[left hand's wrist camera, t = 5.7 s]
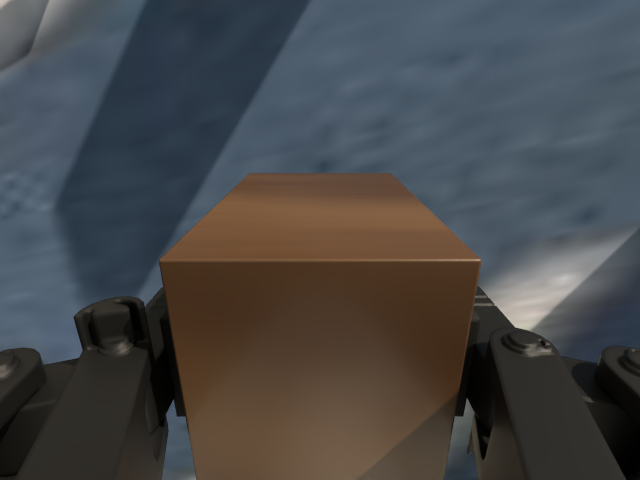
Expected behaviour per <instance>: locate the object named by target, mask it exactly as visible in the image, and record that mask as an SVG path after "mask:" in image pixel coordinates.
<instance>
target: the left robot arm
mask: <svg viewBox="0 0 640 480" xmlns="http://www.w3.org/2000/svg"><path fill="white" fill-rule="evenodd" d="M74 321H75V324H76V328H77V331H78V335H79V338H80V342H81V345H82V349H83V351H82V353H81V355H80V357H79V358H76V359H72V360H67V361H62V362H57V363H51V364H46V365H43V362H42V359H41V356H40V353H39V352H37V351H36V350H35V349H31V348H16V349H8V350H3V351H2V352H0V480H162V474H163V467H164V459H165V452H166V445H167V437H168V422H167V417H166V413H167V411H168V409H169V407H170V405H171V403H172V401H173V399H174V403H175V408H176V414H177V416H186V415H185V409H184V404H183V398H182V392H181V386H180V380H179V375H178V369H177V363H176V357H175V351H174V346H173V340H172V334H171V328H170V322H169V317H168V311H167V305H166V299H165V293H164V288H163V287H162V288H161V289H160V290H159V291H158V292H157V294H156V295H155V296H154V297H153V299H151V300H150V302H149V303H148V304H147V305H146V307H145V306H144V302H143V301H141V300H140V299H139V298H135V297H129V296H128V297H114V298H109V299H104V300H101V301H99V302H96V303H93V304H91V305H89V306H87V307H85V308H83V309H82V310H80V311H79V312H78V313H77V314H76V315H75V316H74ZM466 399H468V400H469V402H470V404H471V406H472V408H473V410H474V417H473V422H472V428H471V433H470V438H469V443H468V449H467V454H468V455H472V452H473V447H474V451H475V458H476V466H477V473H478V480H640V350H639V349H637V348H632V347H622V346H613V347H607V348H605V349H604V350H603V351H601V354H600V357H599V360H598V363H592V362H587V361H582V360H577V359H572V358H567V357H563V356H560V355H559V353H558V351H557V349H556V348H555V347H554V346H553V345H552V344H551V342H549V341H548V340H546V339H545V338H543V337H542V336H540V335H537V334H535V333H533V332H530V331H527V330H523V329H519V328H515V327H514V326H513V325H512V324H511V322H510V321H509V320H508V319H507V318H506V317H505V316H504V314H503V313H502V312H501V311H500V310H499V309H498V308H497V306H494V303H493V302H492V301H491V300H490V299H489V298H488V296H487V295H486V294H485V293H484V292H483V291H482V289H481V288H480V287H478V286H477V290H476V295H475V301H474V307H473V313H472V318H471V324H470V330H469V336H468V342H467V347H466V353H465V359H464V365H463V370H462V376H461V382H460V388H459V394H458V399H457V405H456V411H455V416H463V415H464V410H465V404H466Z"/></svg>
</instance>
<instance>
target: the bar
mask: <svg viewBox="0 0 640 480" xmlns="http://www.w3.org/2000/svg"><path fill="white" fill-rule="evenodd" d="M159 265H160V270H161V276H162V282H163V288H164V293H165V299H166V305H167V311H168V317H169V322H170V328H171V334H172V340H173V346H174V351H175V357H176V363H177V369H178V375H179V380H180V386H181V392H182V398H183V404H184V409H185V415H186V421H187V427H188V433H189V438H190V444H191V450H192V456H193V462H194V467H195V473H196V479H197V480H444V474H445V469H446V463H447V457H448V451H449V446H450V440H451V434H452V428H453V422H454V417H455V411H456V405H457V399H458V394H459V388H460V382H461V376H462V370H463V365H464V359H465V353H466V347H467V342H468V336H469V330H470V324H471V318H472V313H473V307H474V301H475V295H476V290H477V284H478V278H479V272H480V266H481V259H480V258H479V257H478V256H477V255H476V254H475V253H474V252H473V251H472V250H471V249H469V248H468V247H467V246H466V245H465V244H464V243H463V242H462V241H461V240H460V239H459V238H458V237H457V236H456V235H455V234H454V233H453V232H452V231H451V230H450V229H449V228H447V227H446V226H445V225H444V224H443V223H442V222H441V221H440V220H439V219H438V218H437V217H436V216H435V215H434V214H433V213H432V212H431V211H430V210H429V209H428V208H427V207H425V206H424V205H423V204H422V203H421V202H420V201H419V200H418V199H417V198H416V197H415V196H414V195H413V194H412V193H411V192H410V191H409V190H408V189H407V188H406V187H405V186H404V185H402V184H401V183H400V182H399V181H398V180H397V179H396V178H395V177H394V176H393V175H392V174H391V173H250V174H248V175H247V176H246V177H245V178H244V179H243V180H242V181H241V182H240V183H239V184H238V185H237V186H236V187H235V188H234V189H233V190H232V191H231V192H229V193H228V194H227V195H226V196H225V197H224V198H223V199H222V200H221V201H220V202H219V203H218V204H217V205H216V206H215V207H214V208H213V209H212V210H211V211H210V212H208V213H207V214H206V215H205V216H204V217H203V218H202V219H201V220H200V221H199V222H198V223H197V224H196V225H195V226H194V227H193V228H192V229H191V230H190V231H189V232H188V233H186V234H185V235H184V236H183V237H182V238H181V239H180V240H179V241H178V242H177V243H176V244H175V245H174V246H173V247H172V248H171V249H170V250H169V251H168V252H167V253H166V254H164V255H163V256H162V257H161V258H160V260H159Z"/></svg>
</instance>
